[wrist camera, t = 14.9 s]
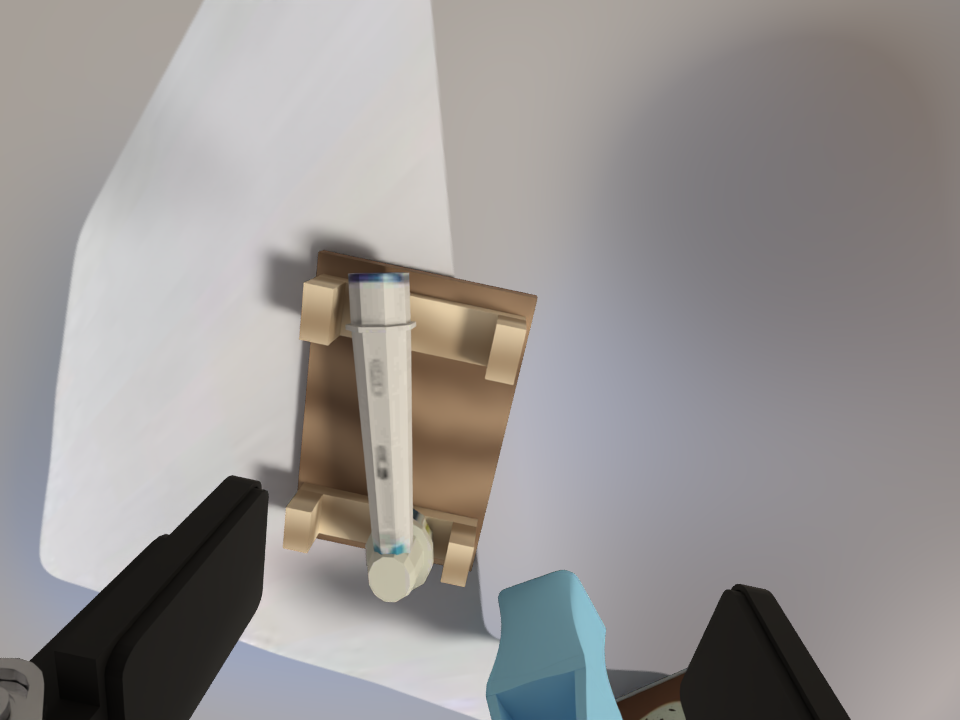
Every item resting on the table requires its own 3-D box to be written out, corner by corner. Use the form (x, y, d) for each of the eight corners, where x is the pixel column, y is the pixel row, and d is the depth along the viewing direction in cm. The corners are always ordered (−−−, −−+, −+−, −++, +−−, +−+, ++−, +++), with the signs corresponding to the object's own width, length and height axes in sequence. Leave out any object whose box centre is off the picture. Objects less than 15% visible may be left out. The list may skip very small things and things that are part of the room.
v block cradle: (323, 250, 37) (298, 258, 32) (536, 295, 37) (539, 309, 32) (298, 526, 45) (275, 561, 41) (472, 563, 45) (467, 602, 41)
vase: (571, 565, 44) (611, 846, 25) (606, 628, 46) (666, 931, 27) (492, 592, 46) (474, 875, 27) (529, 652, 48) (535, 954, 29)
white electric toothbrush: (411, 273, 31) (423, 629, 36) (430, 271, 37) (438, 572, 42) (328, 274, 31) (351, 626, 36) (361, 271, 38) (377, 570, 42)
